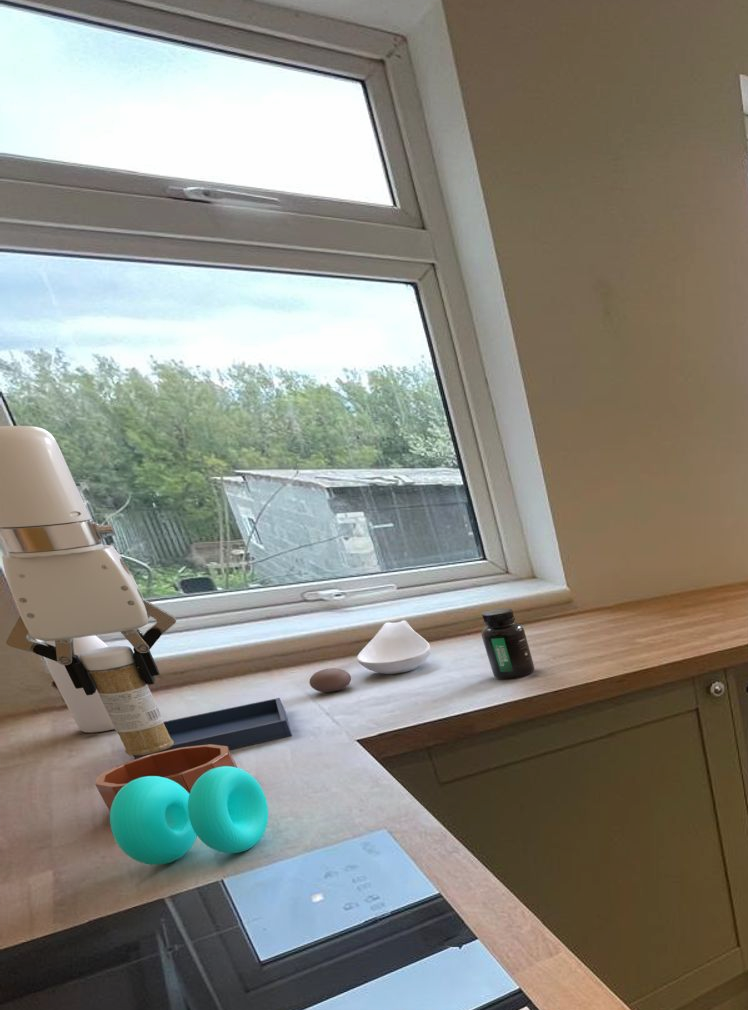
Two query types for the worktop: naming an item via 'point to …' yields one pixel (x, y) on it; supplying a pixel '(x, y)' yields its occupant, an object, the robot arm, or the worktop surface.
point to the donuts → (188, 815)
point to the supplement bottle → (506, 645)
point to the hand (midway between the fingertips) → (121, 685)
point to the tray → (230, 726)
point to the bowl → (165, 768)
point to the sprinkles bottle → (127, 699)
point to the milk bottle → (81, 690)
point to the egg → (330, 680)
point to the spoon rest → (394, 649)
